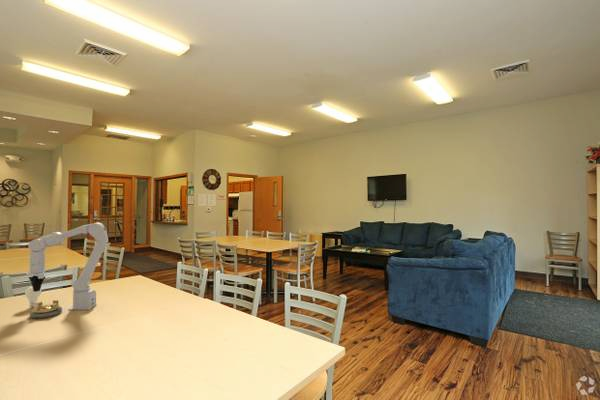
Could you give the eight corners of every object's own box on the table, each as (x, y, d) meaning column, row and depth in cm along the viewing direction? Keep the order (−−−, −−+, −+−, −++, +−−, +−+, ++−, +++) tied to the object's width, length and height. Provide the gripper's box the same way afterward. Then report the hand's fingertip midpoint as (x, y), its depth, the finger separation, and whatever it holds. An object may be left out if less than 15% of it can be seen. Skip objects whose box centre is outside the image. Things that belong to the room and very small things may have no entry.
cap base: (67, 310, 153) (68, 305, 153) (49, 319, 141) (49, 314, 141) (43, 310, 152) (43, 306, 152) (22, 319, 140) (22, 314, 140)
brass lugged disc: (54, 312, 143) (54, 305, 143) (28, 314, 140) (28, 307, 140) (63, 305, 153) (63, 299, 153) (38, 307, 150) (39, 300, 150)
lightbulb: (33, 309, 153) (33, 287, 153) (21, 309, 153) (21, 287, 153) (44, 305, 159) (44, 284, 159) (32, 305, 159) (32, 284, 159)
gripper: (22, 262, 151) (22, 290, 151) (30, 266, 142) (29, 295, 142) (41, 260, 156) (40, 287, 156) (49, 264, 148) (49, 292, 147)
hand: (36, 291), depth 149 cm, fingers closed
